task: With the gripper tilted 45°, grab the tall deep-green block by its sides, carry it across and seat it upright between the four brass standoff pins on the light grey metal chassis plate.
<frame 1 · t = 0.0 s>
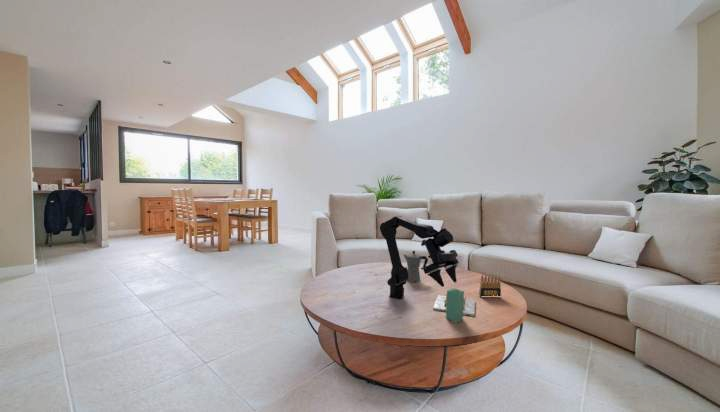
hand: (449, 284, 131), 15 cm above the table, tool tilted 35°, fingers open, 9 cm apart
coffeepot: (414, 280, 184), on the table
ammunition clip: (489, 297, 158), on the table
chassis: (454, 305, 145), on the table
green block: (454, 318, 131), on the table
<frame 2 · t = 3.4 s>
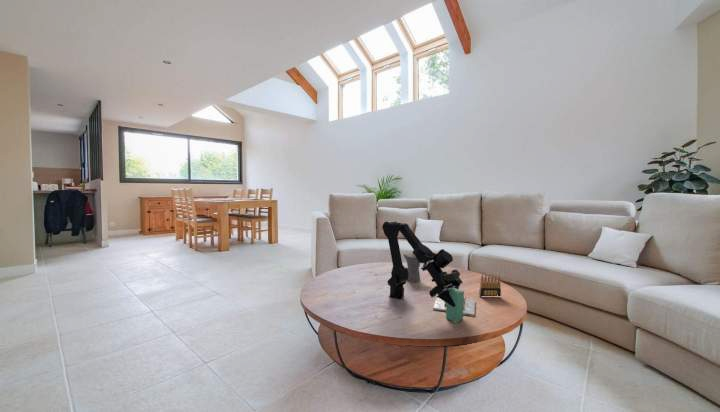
hand: (457, 305, 129), 7 cm above the table, tool tilted 45°, fingers closed on green block, 5 cm apart
green block: (454, 318, 131), on the table, touching gripper
everything else where it was.
when the fingers open (9 cm above the table, at t = 7.3 s): green block drops 1 cm, resting on chassis.
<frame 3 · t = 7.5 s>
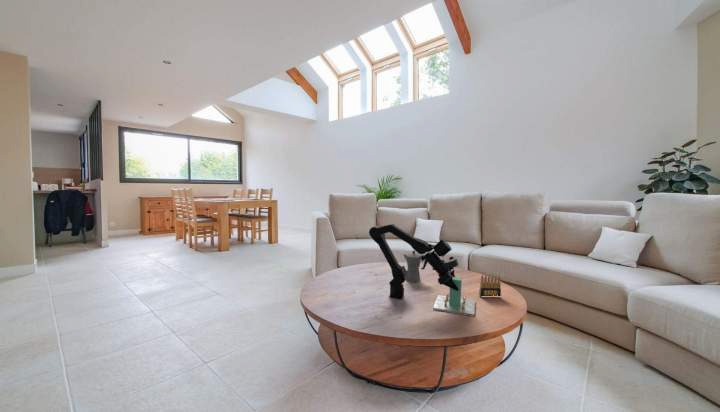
hand: (458, 287, 144), 9 cm above the table, tool tilted 45°, fingers open, 7 cm apart
green block: (454, 303, 145), point 1 cm above the table, touching chassis
everything else where it was.
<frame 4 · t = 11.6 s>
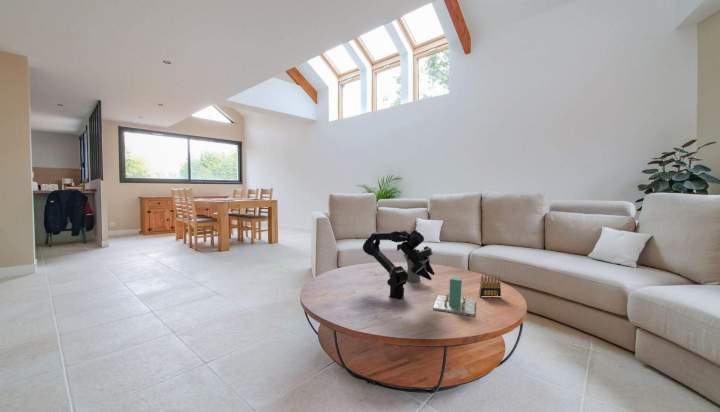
hand: (432, 277, 145), 14 cm above the table, tool tilted 45°, fingers open, 9 cm apart
nothing on the table moved.
at the end: green block 0.0 cm off-centre on the chassis, point 1.0 cm above the chassis's base; green block tilted 0°; the gripper is holding nothing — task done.
